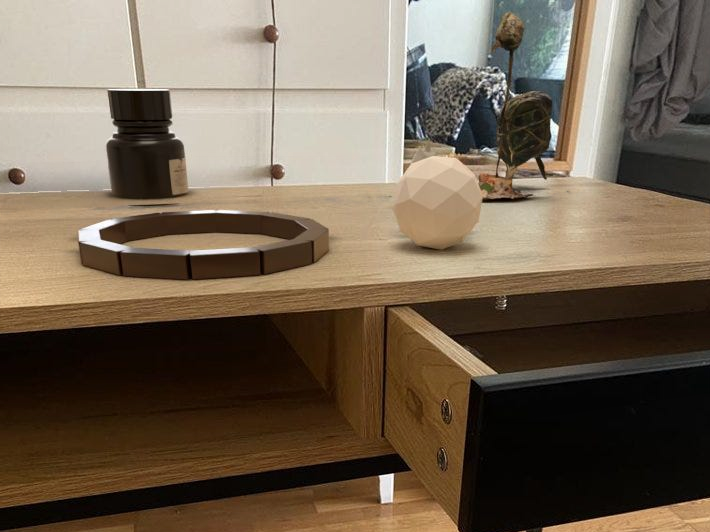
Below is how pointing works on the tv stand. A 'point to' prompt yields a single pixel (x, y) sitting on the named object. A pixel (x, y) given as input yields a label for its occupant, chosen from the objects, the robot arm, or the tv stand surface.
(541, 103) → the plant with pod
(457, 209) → the geometric ball
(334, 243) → the tv stand surface
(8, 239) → the tv stand surface
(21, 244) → the tv stand surface
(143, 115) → the ink bottle
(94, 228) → the walnut ring
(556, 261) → the tv stand surface
